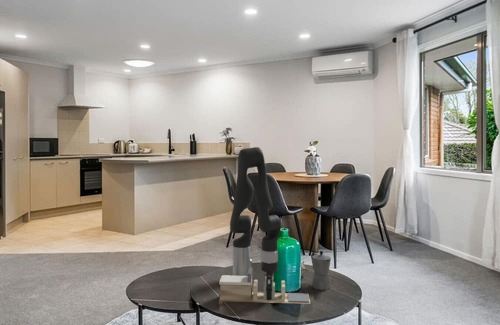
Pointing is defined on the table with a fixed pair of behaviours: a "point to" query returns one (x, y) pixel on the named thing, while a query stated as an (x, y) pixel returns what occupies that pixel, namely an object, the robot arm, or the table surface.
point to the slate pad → (297, 297)
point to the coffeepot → (320, 271)
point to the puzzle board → (252, 294)
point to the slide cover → (237, 279)
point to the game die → (302, 269)
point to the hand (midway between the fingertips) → (269, 297)
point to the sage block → (272, 291)
